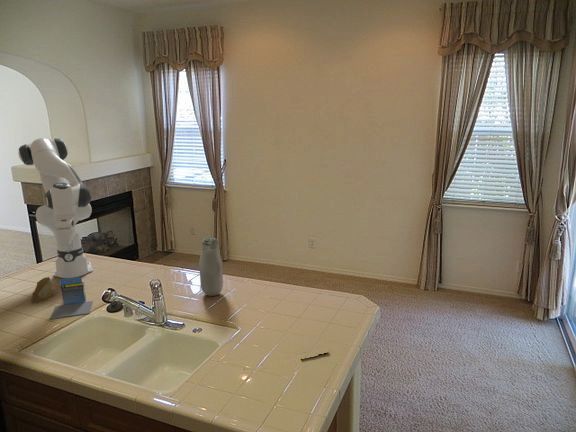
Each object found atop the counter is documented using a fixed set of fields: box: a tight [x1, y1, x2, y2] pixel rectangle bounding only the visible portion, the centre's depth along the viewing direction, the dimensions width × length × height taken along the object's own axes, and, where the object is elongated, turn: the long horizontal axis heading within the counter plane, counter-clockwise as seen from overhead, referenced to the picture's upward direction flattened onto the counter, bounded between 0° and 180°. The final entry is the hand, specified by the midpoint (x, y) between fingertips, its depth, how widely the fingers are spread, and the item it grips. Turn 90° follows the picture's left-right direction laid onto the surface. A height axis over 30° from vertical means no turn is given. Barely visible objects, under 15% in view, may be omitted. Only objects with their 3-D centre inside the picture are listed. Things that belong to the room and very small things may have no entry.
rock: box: [30, 276, 54, 303], centre depth 189 cm, size 11×9×10 cm
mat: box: [49, 300, 94, 320], centre depth 178 cm, size 12×15×1 cm
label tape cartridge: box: [59, 276, 87, 305], centre depth 184 cm, size 9×4×12 cm, turn 108°
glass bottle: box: [198, 236, 224, 297], centre depth 189 cm, size 10×10×28 cm
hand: (70, 249), depth 186 cm, fingers closed
